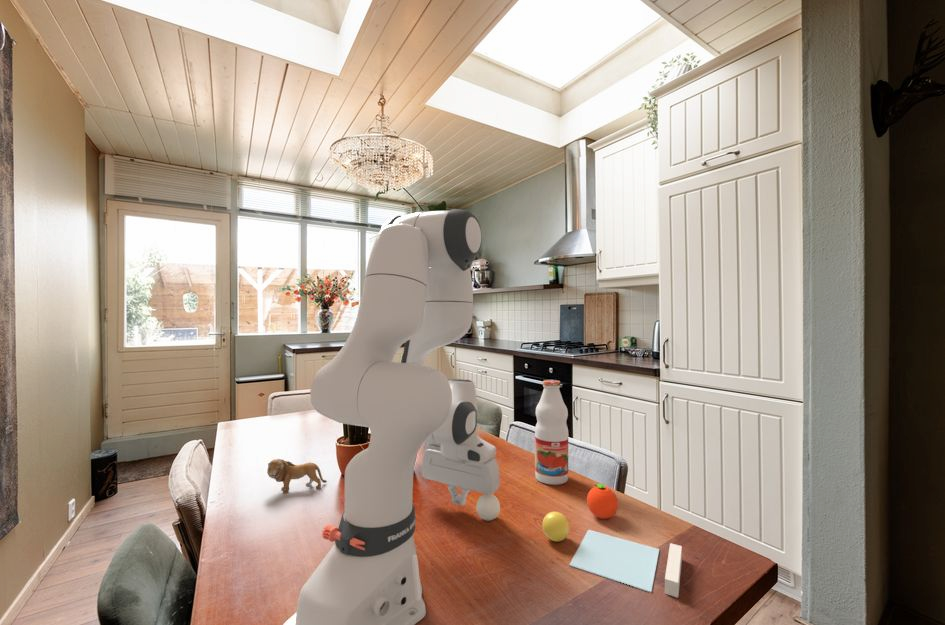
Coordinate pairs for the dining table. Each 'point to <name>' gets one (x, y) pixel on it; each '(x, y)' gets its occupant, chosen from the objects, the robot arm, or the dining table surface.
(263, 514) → the dining table surface
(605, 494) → the clementine
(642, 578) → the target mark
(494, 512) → the cue ball
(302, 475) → the lion figurine
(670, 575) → the rail
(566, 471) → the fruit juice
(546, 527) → the yellow ball
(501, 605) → the dining table surface
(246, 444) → the dining table surface
